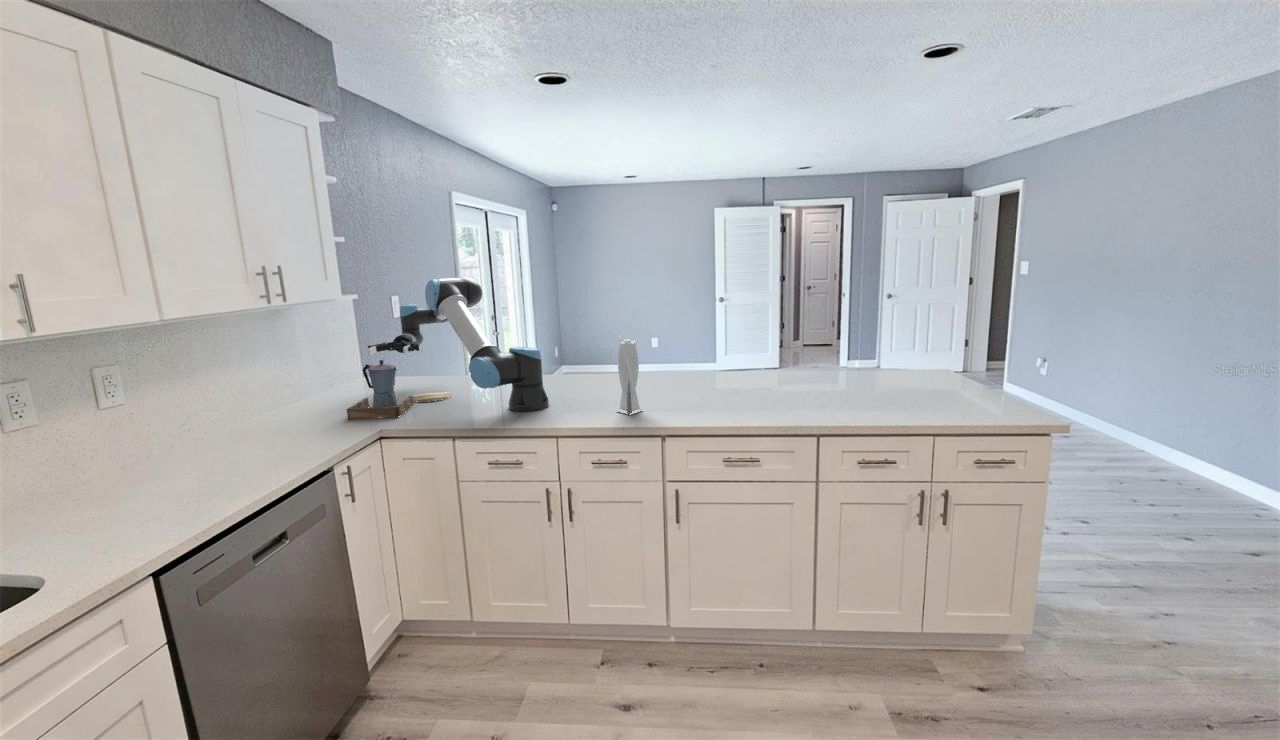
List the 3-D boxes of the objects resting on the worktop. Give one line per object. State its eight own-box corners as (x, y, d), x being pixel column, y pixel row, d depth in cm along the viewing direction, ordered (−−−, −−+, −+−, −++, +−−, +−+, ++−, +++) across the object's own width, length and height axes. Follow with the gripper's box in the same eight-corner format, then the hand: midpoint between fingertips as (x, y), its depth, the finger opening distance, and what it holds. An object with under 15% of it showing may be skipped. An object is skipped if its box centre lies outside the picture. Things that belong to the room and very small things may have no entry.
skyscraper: (613, 411, 208) (610, 336, 202) (628, 406, 214) (626, 333, 208) (629, 415, 202) (627, 338, 196) (645, 410, 208) (643, 335, 202)
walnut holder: (366, 407, 223) (364, 398, 222) (413, 405, 225) (412, 395, 224) (347, 419, 207) (346, 409, 206) (399, 417, 208) (398, 407, 207)
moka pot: (394, 414, 212) (388, 362, 208) (358, 413, 215) (351, 362, 211) (409, 408, 221) (403, 357, 217) (374, 407, 224) (368, 357, 220)
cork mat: (454, 398, 233) (454, 397, 233) (413, 404, 226) (413, 402, 226) (447, 391, 247) (446, 389, 247) (408, 396, 240) (407, 394, 239)
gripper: (434, 350, 246) (419, 359, 225) (375, 352, 244) (355, 362, 223) (433, 333, 244) (417, 341, 223) (373, 335, 242) (353, 343, 222)
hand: (386, 351), depth 223 cm, fingers open, 13 cm apart
